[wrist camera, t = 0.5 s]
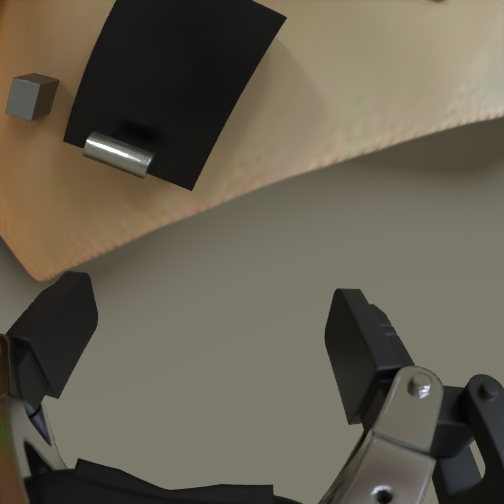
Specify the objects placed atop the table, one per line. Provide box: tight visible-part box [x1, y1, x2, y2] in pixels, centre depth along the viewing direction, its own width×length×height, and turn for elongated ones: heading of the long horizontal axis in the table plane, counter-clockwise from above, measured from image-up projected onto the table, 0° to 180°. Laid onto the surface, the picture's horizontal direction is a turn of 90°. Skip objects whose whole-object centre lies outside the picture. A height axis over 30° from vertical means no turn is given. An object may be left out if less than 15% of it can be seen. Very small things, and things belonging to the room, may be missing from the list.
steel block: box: [6, 73, 59, 121], centre depth 24 cm, size 4×4×4 cm
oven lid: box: [63, 0, 287, 191], centre depth 18 cm, size 17×13×5 cm
